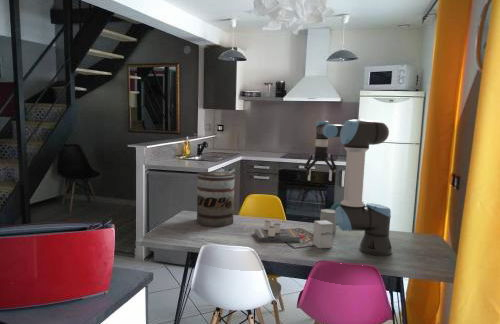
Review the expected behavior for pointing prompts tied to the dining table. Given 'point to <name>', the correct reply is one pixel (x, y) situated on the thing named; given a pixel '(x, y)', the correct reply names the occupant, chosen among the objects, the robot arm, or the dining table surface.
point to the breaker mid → (277, 227)
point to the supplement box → (323, 234)
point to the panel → (277, 236)
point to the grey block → (329, 217)
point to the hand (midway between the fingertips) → (319, 180)
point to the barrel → (215, 199)
